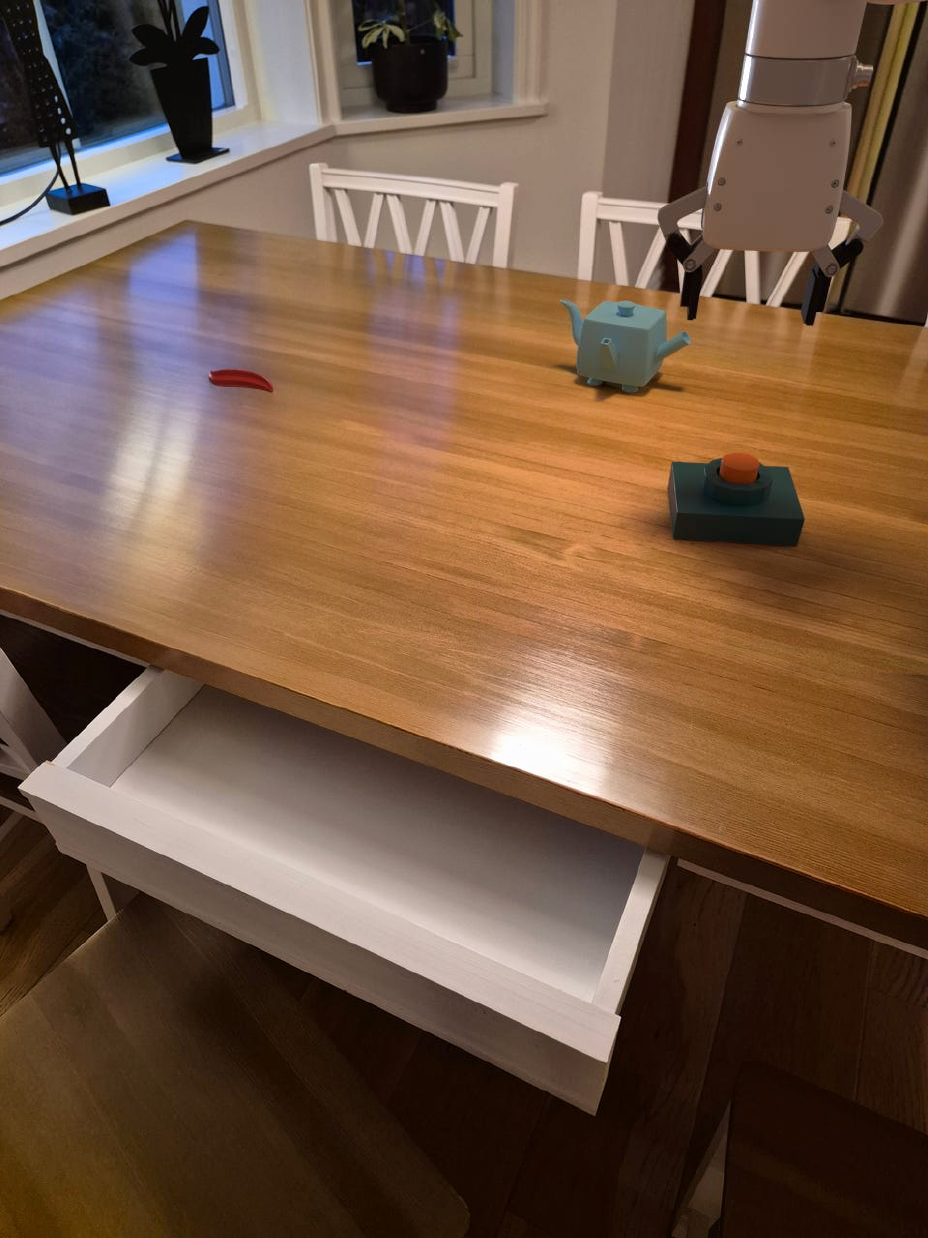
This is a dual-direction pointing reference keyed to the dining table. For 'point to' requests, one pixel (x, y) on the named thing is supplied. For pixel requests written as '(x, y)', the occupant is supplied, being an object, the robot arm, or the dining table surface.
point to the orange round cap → (739, 468)
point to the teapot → (622, 343)
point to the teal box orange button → (734, 505)
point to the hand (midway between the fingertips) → (748, 317)
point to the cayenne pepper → (239, 379)
